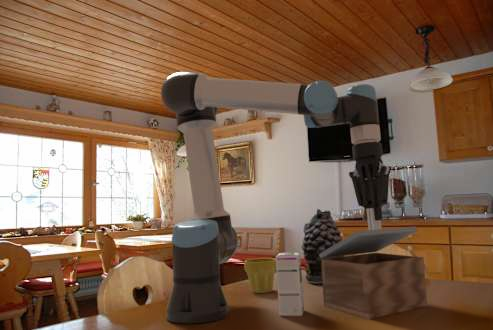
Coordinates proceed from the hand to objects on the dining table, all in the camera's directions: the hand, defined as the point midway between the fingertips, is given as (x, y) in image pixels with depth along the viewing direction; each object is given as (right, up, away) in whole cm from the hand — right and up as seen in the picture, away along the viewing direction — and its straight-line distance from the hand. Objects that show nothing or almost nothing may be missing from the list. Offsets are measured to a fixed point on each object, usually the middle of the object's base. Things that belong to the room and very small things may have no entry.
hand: (375, 233), depth 104 cm
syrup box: (-22, -19, -5) cm, 30 cm away
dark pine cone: (-6, -23, +38) cm, 45 cm away
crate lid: (-1, -3, +2) cm, 4 cm away
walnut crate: (0, -18, -1) cm, 19 cm away
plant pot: (-28, -22, +24) cm, 43 cm away
